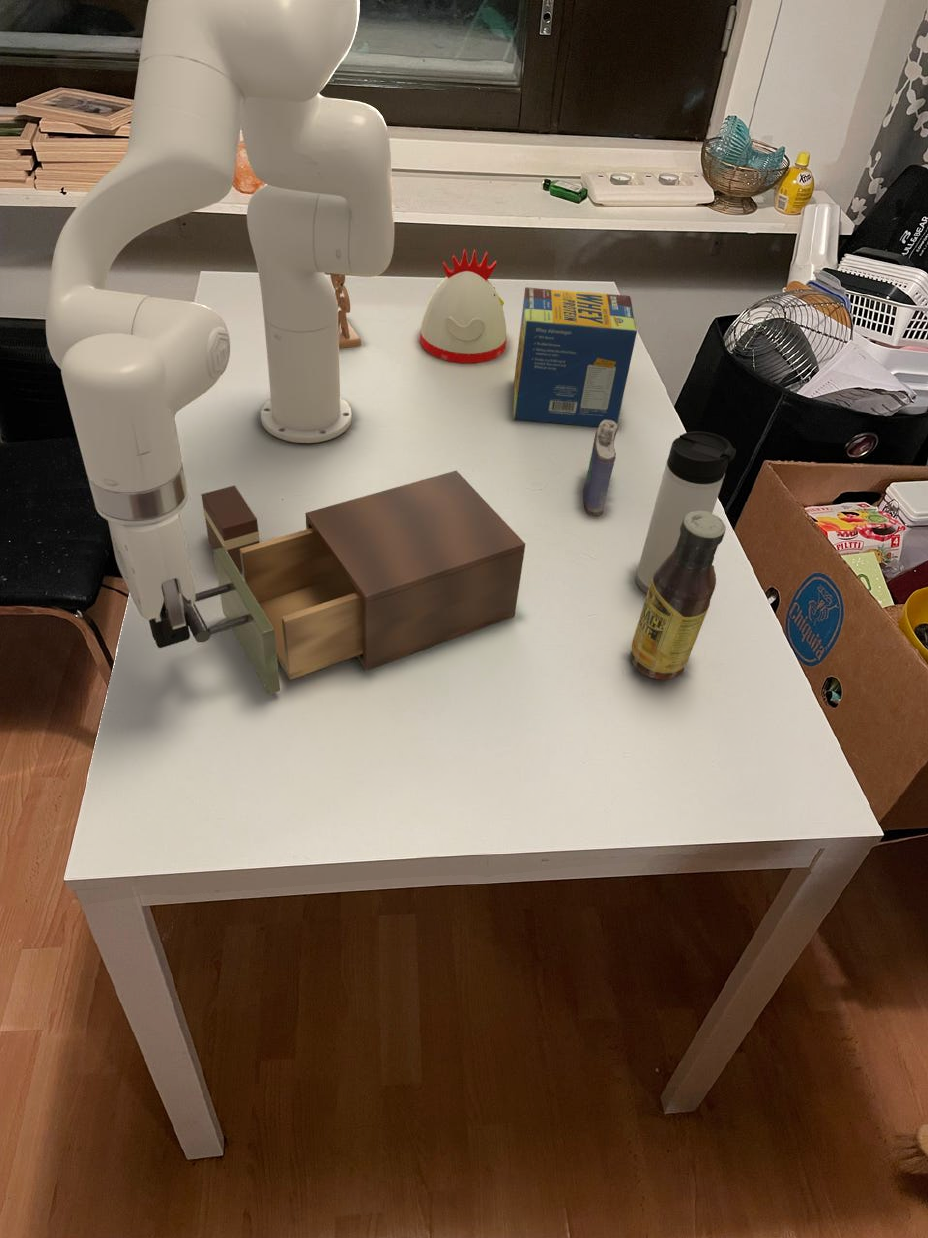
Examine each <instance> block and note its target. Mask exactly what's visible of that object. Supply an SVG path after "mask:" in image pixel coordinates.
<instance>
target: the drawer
mask: <svg viewBox="0 0 928 1238" xmlns="http://www.w3.org/2000/svg"><path fill="white" fill-rule="evenodd" d="M213 556H214V563H215V570H216V576H217V582H218V586H215V587H213V588H210V589H206V590H203V591H199V592H197V593H196V592H195V595H196V601H195V603H197V602H201V601H204V600H207V599H210V598H213V597H217V596H220V603H221V608H222V613H223V615H224V616H225V618H226V620H225V621H222V622H220V623H216V624H213V625H210V626H207V623H206V622H205V620H204V618H203V616H202V615H201V613H200V610H199V609H198V607H197V605H196V604H195V603H194V605H193V606H192V607H190V605H189V606H188V605H187V603H186V602H185V600H184V598H183V603H184V608H185V612H186V617H187V622H188V628H189V631H190V632H191V634H192V636H193V637H194V639H195V641H196V642H197V643H199V644H201V643H206V642H207V641H209V640H210V638H211V636H212V635H215V634H218V633H221V632H224V631H228V630H230V629H232V631H233V632H234V634H235V636H236V638H237V640H238V641H239V644H240V645H241V647H242V649H243V651H244V652H245V654H246V656H247V658H248V659H249V661H250V663H251V665H252V666H253V668H254V670H255V672H256V673H257V676H258V677H259V679H260V680H261V682H262V684H263V687H264V688H265V689H266V692H267V693H268V695H274V694H277V693H279V692H281V684H280V683H281V682H280V674H279V673H280V672H279V664H280V666H281V667H282V669H283V670H284V673H285V674H286V675H287V677H288V679H289V680H290V681H291V680H293V679H296V678H300V677H303V676H304V675H307V674H310V673H313V672H317V671H319V670H322V669H324V668H327V667H330V666H333V665H335V664H338V663H340V662H341V663H342V662H344V661H346V660H349V659H352V658H356V657H357V656H358V655H361V654H363V610H362V596H361V595H360V594H359V592H358V591H357V589H356V588H355V587H354V585H353V584H352V582H351V581H350V580H349V578H348V577H347V575H346V574H345V573H344V571H343V570H342V568H341V567H340V566H339V564H338V563H337V561H336V560H335V559H334V557H333V556H332V554H331V553H330V552H329V550H328V549H327V547H326V546H325V545H324V543H323V542H322V540H321V539H320V538H319V536H318V535H317V534H316V532H315V531H314V529H313V528H309V529H303V530H300V531H299V530H298V531H295V532H293V533H290V534H286V535H285V534H284V535H283V536H279V537H275V538H272V539H268V540H265V541H261V542H260V543H258V544H254V545H251V546H247V547H244V548H241V549H240V556H241V564H242V573H240V572H239V571H238V569H237V567H236V566H235V564H234V562H233V561H232V559H231V557H230V556H229V554H228V552H227V551H226V549H225V547H223V548H219V549H216V550H214V549H213ZM278 662H279V664H278Z"/></svg>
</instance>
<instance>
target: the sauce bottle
mask: <svg viewBox="0 0 928 1238" xmlns="http://www.w3.org/2000/svg"><path fill="white" fill-rule="evenodd" d="M725 533H726V524H725V523H724V520H722V518H721V517H719V515H716V514H714V513H710V512H706V511H693V512H690V513H689V514H687V515H686V516H685V517H684V519H683V521H682V524H681V526H680V536H679V539H678V542H677V545H676V547H675V548H674V551H673V552H672V553H671V554H670V555H669V556H668V558H667V559H666V560H665V561H664V562H663V563H662V565H661V566H660V567H659V568H658V569H657V570H656V572H655V573H654V575H653V577H652V580H651V584H650V586H649V590H648V593H647V594H646V597H645V599H644V603H643V605H642V610H641V611H640V615H639V619H638V622H637V625H636V627H635V632H634V635H633V638H632V641H631V651H630V660H631V662H632V665H633V666H634V668H635V669H637V670H638V672H640V673H641V674H642V675H643V676H645V677H647V678H650V679H651V678H652V679H654V680H659V681H660V680H664V681H665V680H666V681H667V680H671V679H673V678H676V677H677V676H679V675H681V674H682V672H684V670H685V666H686V665H687V664H688V661H689V659H690V657H691V654H692V652H693V649H694V646H695V644H696V641H697V638H698V637H699V633H700V631H701V628H702V626H703V623H704V621H705V618H706V615H707V614H708V610H709V609H710V606H711V605H710V604H711V599H712V597H713V594H714V592H715V590H716V586H717V575H716V571H715V566H714V565H713V562H714V560H715V554H716V552H717V550H718V547H719V545H720V544H722V542H723V540H724V537H725Z"/></svg>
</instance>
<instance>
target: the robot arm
mask: <svg viewBox="0 0 928 1238" xmlns="http://www.w3.org/2000/svg"><path fill="white" fill-rule="evenodd" d="M359 17H360V0H148V1H147V6H146V13H145V19H144V27H143V32H142V33H143V34H142V41H141V48H140V54H139V60H138V61H139V62H138V67H137V75H136V84H135V91H134V97H133V105H132V112H131V118H130V127H129V135H128V143H127V148H126V152H125V154H124V156H123V158H122V159H121V161H120V162H119V163H118V164H117V165H115V167H114V168H112V169H111V170H110V171H109V172H107V173H106V174H105V175H104V176H103V177H101V179H100V180H98V181H97V183H95V184H94V186H92V187H91V189H90V190H89V191H88V192H87V194H86V195H85V196H83V199H81V201H80V202H79V204H78V205H77V206H76V207H75V209H74V210H73V211H72V213H71V214H70V216H69V217H68V219H67V220H66V222H65V223H64V225H63V227H62V229H61V231H60V233H59V236H58V239H57V241H56V244H55V248H54V252H53V257H52V263H51V268H50V269H51V270H50V277H49V284H48V291H47V301H46V310H45V335H46V343H47V348H48V350H49V354H50V356H51V358H52V360H53V361H54V363H55V364H56V366H57V367H58V368H59V369H60V374H61V379H62V385H63V388H64V391H65V395H66V399H67V403H68V407H69V411H70V415H71V419H72V422H73V426H74V430H75V434H76V439H77V441H78V445H79V449H80V453H81V457H82V461H83V465H84V468H85V472H86V476H87V481H88V483H89V488H90V491H91V496H92V499H93V503H94V507H95V510H96V512H97V513H98V514H99V515H100V517H102V518H103V519H104V520H106V521H107V523H108V527H109V532H110V537H111V542H112V548H113V553H114V557H115V562H116V564H117V568H118V570H119V573H120V575H121V576H122V579H123V581H124V584H125V585H126V587H127V588H126V589H127V591H128V592H129V594H130V597H131V599H132V600H133V603H134V604H135V607H136V609H137V611H138V612H139V614H140V616H141V617H142V618H143V619H145V620H147V621H148V623H149V627H150V631H151V636H152V638H153V640H154V641H155V644H156V645H155V646H157V648H158V649H163V648H167V647H170V646H174V645H175V644H179V643H182V642H186V641H188V640H189V639H190V638H191V633H190V628H189V626H188V622H187V617H186V612H185V608H184V603H183V598H184V600H185V602H186V603H187V605H188V606H189V605H190V607H192V606H193V605H194V603H196V602H195V601H196V595H195V594H196V588H195V587H196V586H195V581H194V576H193V571H192V565H191V561H190V555H189V550H188V547H187V541H186V538H185V530H184V528H183V524H182V519H181V515H180V511H181V510H182V509H183V508H184V507H185V505H186V503H187V502H188V496H189V494H188V488H187V483H186V482H187V481H186V476H185V470H184V465H183V459H182V453H181V446H180V440H179V435H178V429H177V424H176V415H177V413H178V412H179V411H181V410H183V409H184V408H185V407H186V406H188V405H190V404H191V403H192V402H194V401H196V400H197V399H199V398H200V397H201V396H203V395H204V394H205V393H207V392H208V391H209V390H210V389H211V388H212V387H213V386H214V385H216V383H217V382H218V381H219V379H220V378H221V377H222V375H223V374H224V373H225V371H226V369H227V367H228V364H229V361H230V357H231V341H230V340H231V338H230V333H229V330H228V327H227V325H226V324H227V323H226V322H225V320H224V319H223V318H222V316H221V315H220V314H219V313H218V312H216V311H215V310H214V309H212V308H211V307H209V306H207V305H204V304H201V303H198V302H193V301H188V300H182V299H180V300H179V299H173V298H166V297H156V296H153V295H149V294H140V293H132V292H123V291H117V290H110V289H109V290H108V289H106V283H107V280H108V275H109V272H110V271H111V268H112V265H113V263H114V262H115V260H116V259H117V257H118V256H119V254H120V253H121V251H123V249H124V248H125V247H126V246H127V245H128V244H129V243H131V241H132V240H134V239H135V238H136V237H138V236H140V235H141V234H143V233H144V232H146V231H149V230H150V229H152V228H154V227H157V226H159V225H161V224H164V223H166V222H169V221H172V220H173V219H177V218H179V217H182V216H184V215H187V214H190V213H193V212H196V211H198V210H202V209H205V208H208V207H210V206H212V205H214V204H217V203H219V202H221V200H223V199H224V198H225V197H227V196H228V194H229V193H230V192H231V190H232V188H233V185H234V180H235V172H236V163H237V156H238V145H239V140H240V134H242V135H241V136H242V139H243V140H242V141H243V145H244V149H245V154H246V157H247V160H248V164H249V166H250V169H251V171H252V172H253V174H254V176H255V177H256V178H257V179H258V180H259V181H260V182H262V183H263V184H264V185H262V186H260V187H258V189H257V190H255V191H254V192H253V194H252V196H251V197H250V199H249V201H248V205H247V209H246V226H247V231H248V237H249V242H250V244H251V248H252V252H253V255H254V260H255V263H256V264H255V265H256V267H257V274H258V278H259V285H260V294H261V301H262V302H261V303H262V314H263V323H264V334H265V346H266V347H265V348H266V357H267V371H268V381H269V392H270V399H268V400H267V401H266V402H265V403H264V404H263V406H262V407H261V410H260V421H261V425H262V426H263V428H264V429H265V430H266V431H267V432H268V433H269V434H270V435H272V436H274V437H276V438H278V439H280V440H282V441H287V442H291V443H297V444H315V443H322V442H326V441H329V440H332V439H335V438H337V437H339V436H341V435H343V433H344V432H346V431H347V430H348V429H349V427H350V426H351V424H352V419H353V414H352V408H351V406H350V404H348V402H347V401H346V400H344V399H343V398H342V397H341V379H340V378H341V376H340V375H341V373H340V348H339V332H338V311H339V307H338V304H337V299H336V295H335V289H334V287H333V284H332V282H331V280H329V278H328V277H327V275H326V274H330V273H334V274H342V275H345V276H350V277H360V278H374V277H377V276H380V275H381V274H383V273H385V271H387V269H388V267H389V265H390V264H391V261H392V258H393V254H394V249H395V212H394V194H393V191H394V190H393V175H392V173H393V171H392V154H391V144H390V143H391V142H390V135H389V131H388V127H387V124H386V121H385V119H384V117H383V115H382V114H381V113H380V112H379V110H378V109H376V108H375V107H373V106H372V105H370V104H367V103H365V102H361V101H357V100H349V99H342V98H332V97H326V96H323V95H321V94H320V93H321V91H322V90H323V89H324V88H325V87H326V85H327V83H328V82H329V81H330V79H331V78H332V77H333V74H334V73H335V71H336V70H337V69H338V67H339V66H341V63H342V62H343V61H344V59H345V58H346V56H347V55H348V53H349V51H350V50H351V47H352V45H353V43H354V40H355V36H356V32H357V30H358V29H357V28H358V24H359V19H360V18H359Z"/></svg>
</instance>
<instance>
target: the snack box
mask: <svg viewBox="0 0 928 1238" xmlns="http://www.w3.org/2000/svg"><path fill="white" fill-rule="evenodd" d="M200 496H201V501H202V510H203V516H204V519H205V526H206V532H207V538H208V543H209V544H210V546H211V548H212V549H213V551H214V550H216V549H219V548H223V547H225V549H226V551H227V552H228V554H229V556H230V557H231V559H232V561H233V562H234V564H235V566H236V567H237V569H238V571H239V572H240V574H243V572H242V564H241V556H240V549H241V548H244V547H247V546H251V545H254V544H258V543H261V542H260V540H261V537H260V531H259V524H258V518H257V517H256V515H255V514H254V513H253V511H252V509H251V508H250V507H249V505H248V503H247V502H246V500H245V499H244V497H243V495H242V494H241V493H240V491H239V489H238V488H237V487H236V485H231V486H227V487H224V488H219V489H215V490H213V491H209V492H204V493H201V495H200Z"/></svg>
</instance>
